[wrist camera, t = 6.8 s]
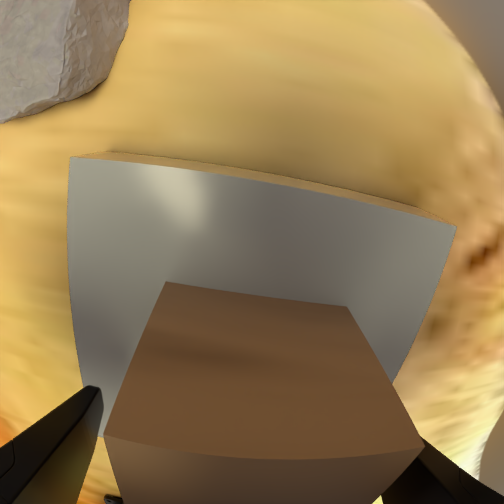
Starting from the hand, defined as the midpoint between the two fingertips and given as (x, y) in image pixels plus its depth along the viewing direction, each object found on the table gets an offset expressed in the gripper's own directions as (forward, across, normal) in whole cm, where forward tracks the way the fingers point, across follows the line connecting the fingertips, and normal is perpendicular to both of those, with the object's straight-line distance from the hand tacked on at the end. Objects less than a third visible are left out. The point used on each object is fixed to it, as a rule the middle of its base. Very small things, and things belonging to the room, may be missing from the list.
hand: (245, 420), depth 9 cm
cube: (+3, 0, 0) cm, 3 cm away
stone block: (+6, +12, -12) cm, 19 cm away
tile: (+6, 0, 0) cm, 6 cm away
